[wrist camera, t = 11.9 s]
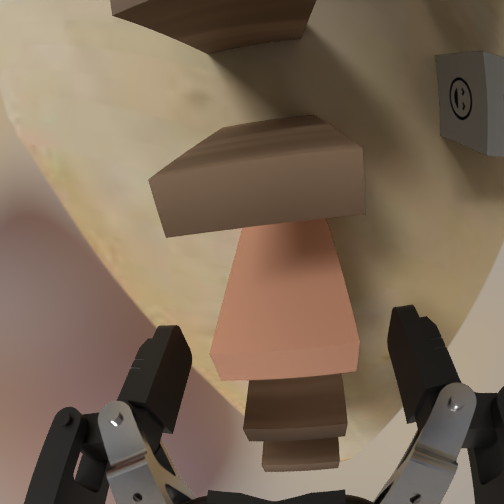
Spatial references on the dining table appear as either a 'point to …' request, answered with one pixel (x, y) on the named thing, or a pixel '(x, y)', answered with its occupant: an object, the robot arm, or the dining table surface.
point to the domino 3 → (285, 307)
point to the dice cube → (472, 100)
